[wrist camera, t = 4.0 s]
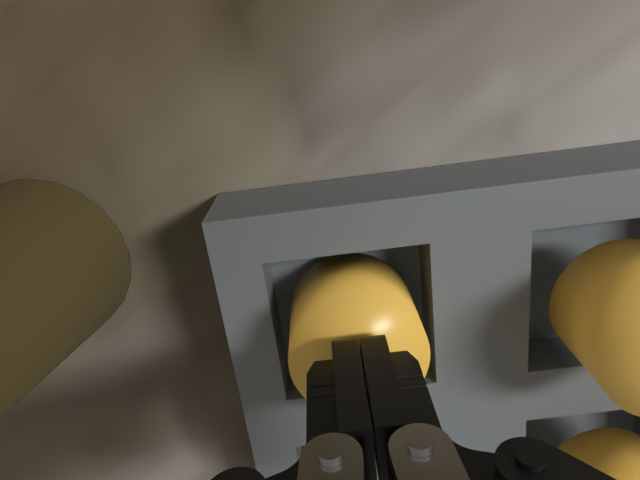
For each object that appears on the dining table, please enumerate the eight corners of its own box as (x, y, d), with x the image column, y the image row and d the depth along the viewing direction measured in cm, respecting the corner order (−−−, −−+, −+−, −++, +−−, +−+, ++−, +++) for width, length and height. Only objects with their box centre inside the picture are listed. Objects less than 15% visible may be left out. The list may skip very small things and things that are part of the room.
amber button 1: (283, 260, 16) (277, 306, 14) (406, 245, 16) (427, 288, 14) (300, 364, 18) (298, 424, 15) (413, 351, 18) (433, 408, 15)
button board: (218, 193, 17) (196, 231, 14) (692, 133, 17) (789, 157, 14) (299, 588, 25) (297, 677, 21) (631, 552, 24) (685, 637, 21)
